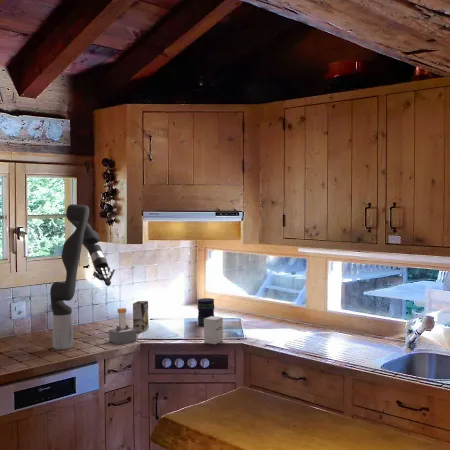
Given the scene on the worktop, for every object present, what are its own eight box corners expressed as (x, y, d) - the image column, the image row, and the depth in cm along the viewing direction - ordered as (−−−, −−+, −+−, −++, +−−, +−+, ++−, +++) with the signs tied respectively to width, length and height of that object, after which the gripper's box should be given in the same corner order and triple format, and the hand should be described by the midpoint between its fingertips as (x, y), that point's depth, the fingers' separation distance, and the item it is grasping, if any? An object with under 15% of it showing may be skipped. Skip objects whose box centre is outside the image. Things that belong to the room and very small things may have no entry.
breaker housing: (109, 341, 294) (108, 325, 294) (128, 337, 300) (127, 322, 300) (117, 344, 286) (116, 329, 285) (136, 341, 292) (136, 325, 292)
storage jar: (204, 327, 321) (204, 301, 320) (194, 324, 328) (194, 299, 328) (218, 324, 327) (217, 299, 326) (208, 322, 335) (207, 297, 334)
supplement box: (215, 344, 283) (215, 319, 283) (203, 342, 287) (203, 318, 286) (223, 341, 289) (223, 317, 289) (211, 339, 293) (211, 315, 293)
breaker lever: (118, 329, 293) (117, 308, 292) (124, 328, 295) (123, 307, 295) (120, 330, 291) (119, 309, 290) (126, 329, 293) (126, 308, 292)
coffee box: (143, 332, 312) (143, 303, 311) (132, 331, 313) (132, 303, 313) (149, 328, 321) (148, 300, 320) (138, 328, 322) (137, 300, 322)
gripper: (89, 257, 308) (99, 282, 298) (111, 255, 315) (122, 279, 306) (86, 266, 312) (95, 290, 303) (108, 264, 320) (118, 287, 311)
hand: (108, 285), depth 304 cm, fingers closed
